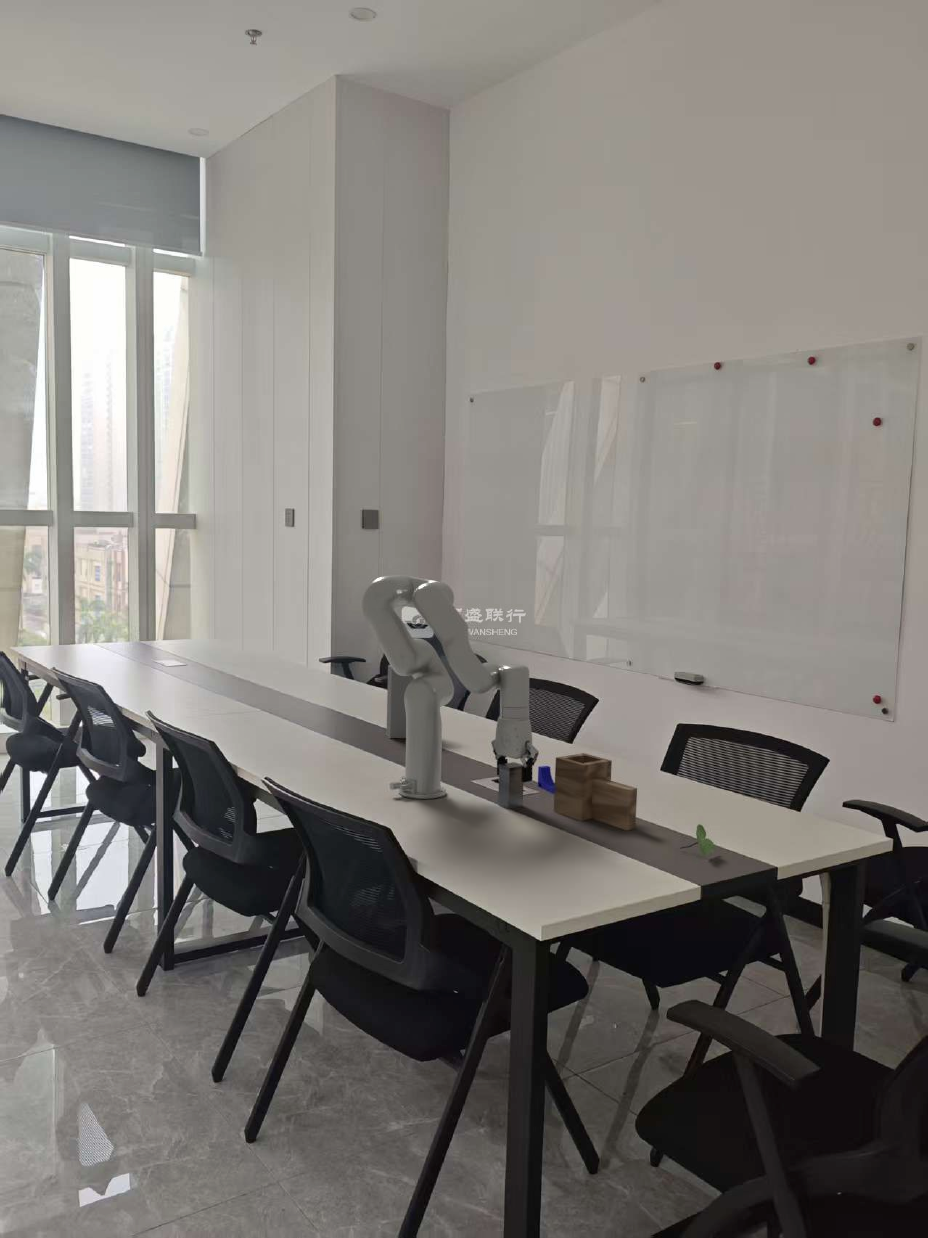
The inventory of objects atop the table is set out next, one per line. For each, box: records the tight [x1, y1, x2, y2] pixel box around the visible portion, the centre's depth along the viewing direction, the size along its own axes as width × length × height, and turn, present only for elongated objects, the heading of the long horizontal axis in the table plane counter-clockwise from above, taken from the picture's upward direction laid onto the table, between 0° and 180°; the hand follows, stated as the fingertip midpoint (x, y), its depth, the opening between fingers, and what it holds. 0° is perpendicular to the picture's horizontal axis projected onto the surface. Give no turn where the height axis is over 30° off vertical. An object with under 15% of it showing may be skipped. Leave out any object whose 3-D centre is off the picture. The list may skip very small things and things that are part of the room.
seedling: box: [679, 824, 716, 857], centre depth 233 cm, size 7×8×7 cm
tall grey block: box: [385, 664, 414, 739], centre depth 345 cm, size 14×6×25 cm, turn 108°
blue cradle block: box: [537, 765, 555, 795], centre depth 283 cm, size 12×4×6 cm, turn 26°
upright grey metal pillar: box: [497, 761, 525, 809], centre depth 267 cm, size 5×4×11 cm
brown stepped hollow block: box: [553, 752, 638, 831], centre depth 257 cm, size 10×22×14 cm, turn 38°
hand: (514, 778), depth 266 cm, fingers open, 9 cm apart
